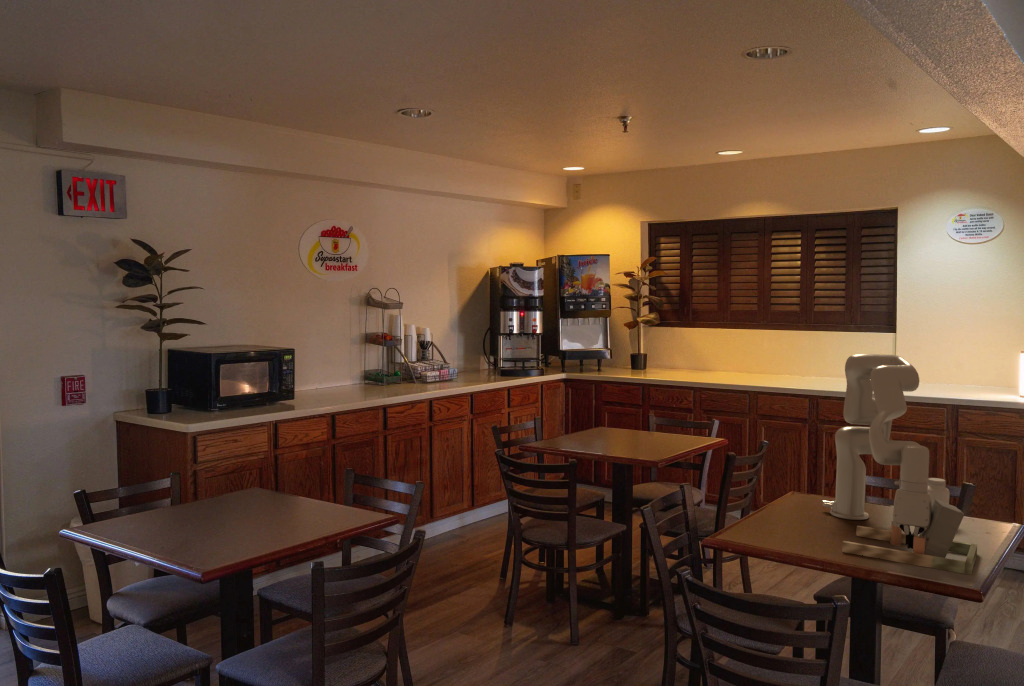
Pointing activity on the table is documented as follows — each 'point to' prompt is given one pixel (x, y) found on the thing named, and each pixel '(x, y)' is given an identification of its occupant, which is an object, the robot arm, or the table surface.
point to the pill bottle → (938, 490)
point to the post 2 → (919, 545)
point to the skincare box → (941, 529)
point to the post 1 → (896, 535)
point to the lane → (909, 556)
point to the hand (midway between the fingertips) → (911, 547)
